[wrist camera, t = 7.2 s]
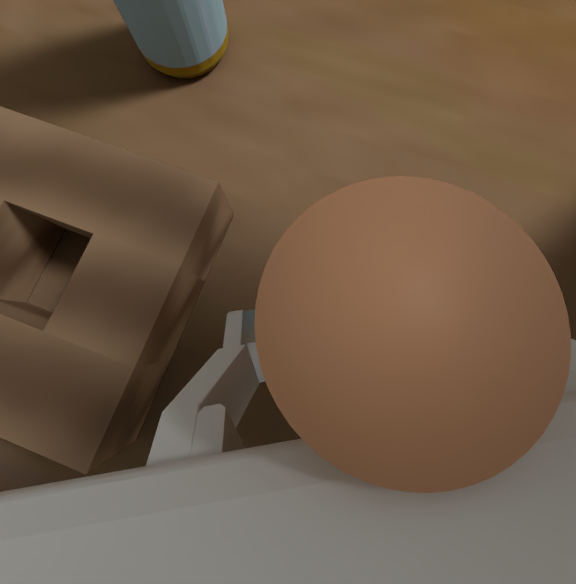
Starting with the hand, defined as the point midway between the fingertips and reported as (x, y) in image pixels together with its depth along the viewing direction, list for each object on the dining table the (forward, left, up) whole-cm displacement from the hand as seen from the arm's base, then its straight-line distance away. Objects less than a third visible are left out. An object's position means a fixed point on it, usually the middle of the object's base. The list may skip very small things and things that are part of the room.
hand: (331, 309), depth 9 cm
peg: (0, 0, -7) cm, 7 cm away
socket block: (+3, -16, -8) cm, 18 cm away
